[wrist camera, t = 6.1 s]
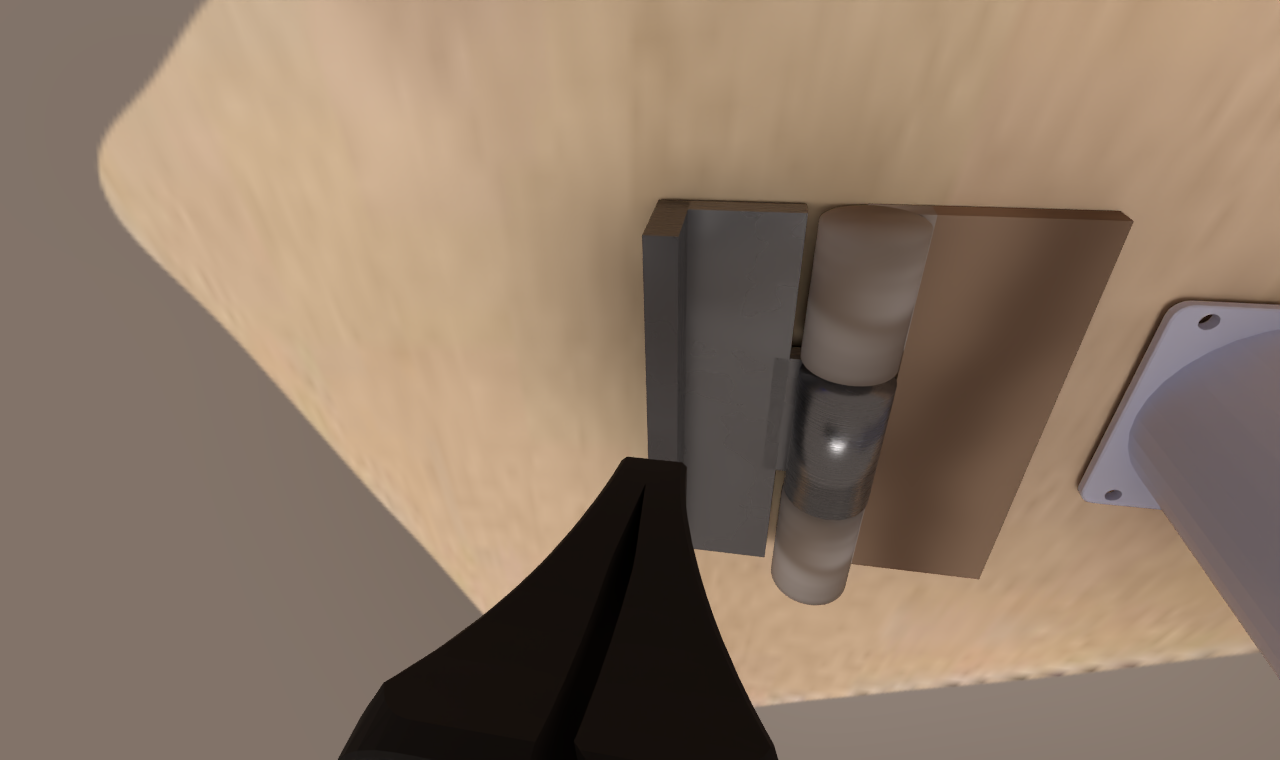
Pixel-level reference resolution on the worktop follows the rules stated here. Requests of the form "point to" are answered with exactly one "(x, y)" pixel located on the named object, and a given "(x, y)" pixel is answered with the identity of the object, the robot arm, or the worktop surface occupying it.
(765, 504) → the metal hinge
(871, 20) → the worktop surface
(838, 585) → the fixed leaf
